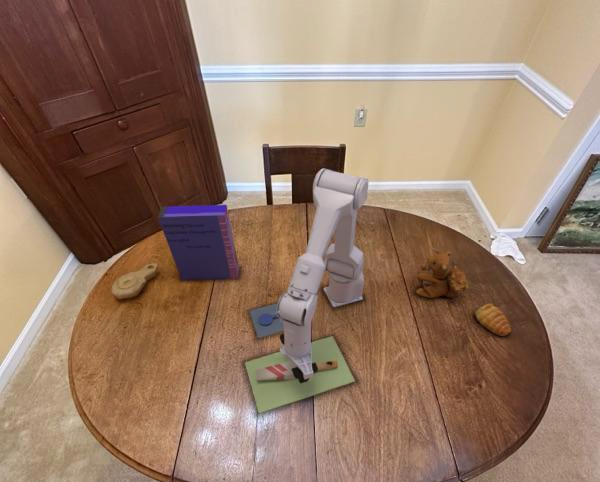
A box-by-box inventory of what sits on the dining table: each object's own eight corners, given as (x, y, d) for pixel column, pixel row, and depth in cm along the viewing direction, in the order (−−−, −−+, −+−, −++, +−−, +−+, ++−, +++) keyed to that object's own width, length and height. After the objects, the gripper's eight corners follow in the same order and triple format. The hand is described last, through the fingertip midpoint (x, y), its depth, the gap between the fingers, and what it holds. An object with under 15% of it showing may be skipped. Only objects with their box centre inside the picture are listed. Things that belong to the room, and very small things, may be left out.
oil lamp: (163, 271, 111) (158, 260, 108) (145, 306, 102) (139, 294, 98) (131, 269, 112) (125, 258, 109) (110, 303, 103) (103, 292, 99)
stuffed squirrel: (419, 272, 110) (430, 239, 100) (466, 288, 105) (482, 255, 95) (409, 292, 104) (420, 259, 94) (458, 310, 99) (474, 278, 89)
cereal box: (239, 268, 112) (226, 204, 95) (237, 278, 109) (224, 214, 91) (184, 269, 112) (161, 205, 94) (181, 280, 109) (157, 216, 91)
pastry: (515, 331, 94) (521, 323, 91) (496, 341, 92) (502, 332, 89) (488, 307, 100) (493, 298, 97) (470, 315, 98) (475, 307, 95)
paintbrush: (255, 364, 84) (335, 354, 87) (255, 370, 86) (334, 360, 89) (256, 379, 81) (339, 368, 84) (256, 384, 83) (338, 374, 86)
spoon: (302, 304, 101) (302, 302, 100) (307, 314, 98) (307, 312, 97) (257, 317, 98) (256, 314, 97) (260, 327, 95) (260, 325, 95)
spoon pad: (295, 299, 103) (295, 298, 103) (307, 324, 96) (307, 323, 96) (249, 311, 100) (249, 310, 100) (258, 338, 93) (258, 338, 93)
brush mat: (332, 336, 94) (332, 335, 93) (354, 381, 84) (355, 380, 84) (244, 363, 88) (244, 362, 88) (258, 414, 79) (258, 413, 79)
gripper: (270, 314, 79) (274, 348, 89) (290, 368, 69) (292, 399, 79) (299, 306, 80) (300, 340, 90) (323, 358, 71) (321, 389, 81)
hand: (298, 367), depth 85 cm, fingers open, 7 cm apart
